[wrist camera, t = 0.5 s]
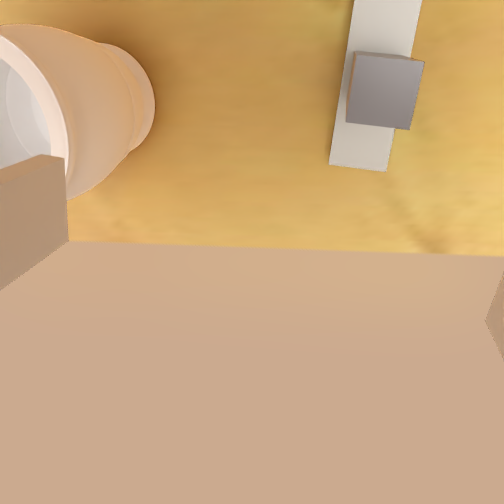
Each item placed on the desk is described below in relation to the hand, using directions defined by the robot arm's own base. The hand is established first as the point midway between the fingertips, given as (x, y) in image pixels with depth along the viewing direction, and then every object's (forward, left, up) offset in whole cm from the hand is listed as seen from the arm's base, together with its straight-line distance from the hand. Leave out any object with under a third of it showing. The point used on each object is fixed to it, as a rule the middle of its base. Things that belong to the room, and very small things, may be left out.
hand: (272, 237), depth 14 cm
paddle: (-3, +3, -24) cm, 24 cm away
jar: (+1, -17, -24) cm, 29 cm away
